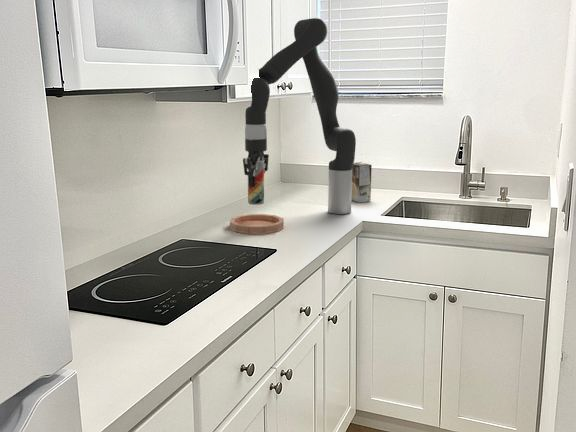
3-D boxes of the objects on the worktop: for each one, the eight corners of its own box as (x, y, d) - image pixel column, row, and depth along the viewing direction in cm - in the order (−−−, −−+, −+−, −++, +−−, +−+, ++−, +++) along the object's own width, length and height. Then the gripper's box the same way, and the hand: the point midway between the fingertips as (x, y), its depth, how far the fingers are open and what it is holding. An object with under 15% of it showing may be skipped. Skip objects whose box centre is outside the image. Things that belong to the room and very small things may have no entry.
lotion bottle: (257, 205, 200) (256, 148, 196) (244, 203, 204) (244, 147, 200) (267, 203, 205) (267, 146, 201) (255, 201, 208) (254, 145, 204)
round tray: (248, 218, 219) (248, 212, 218) (292, 224, 210) (292, 217, 210) (219, 230, 202) (219, 222, 202) (266, 236, 194) (266, 229, 193)
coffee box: (371, 201, 249) (372, 164, 245) (358, 202, 246) (359, 165, 243) (360, 197, 257) (361, 161, 253) (347, 198, 254) (348, 162, 251)
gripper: (257, 135, 207) (257, 181, 211) (235, 138, 194) (236, 187, 198) (275, 136, 203) (275, 183, 207) (254, 139, 191) (255, 189, 195)
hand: (256, 185), depth 203 cm, fingers closed on lotion bottle, 5 cm apart
